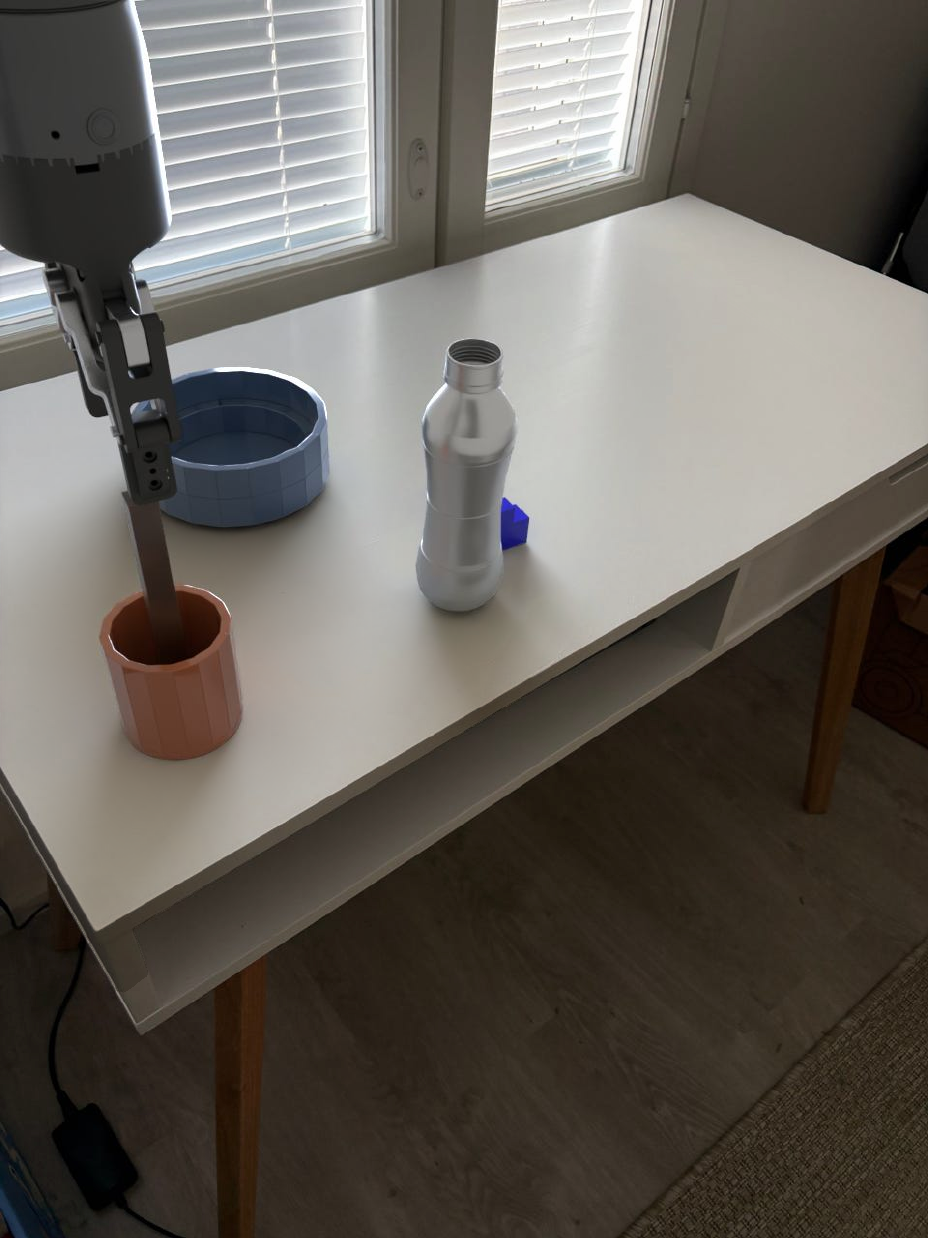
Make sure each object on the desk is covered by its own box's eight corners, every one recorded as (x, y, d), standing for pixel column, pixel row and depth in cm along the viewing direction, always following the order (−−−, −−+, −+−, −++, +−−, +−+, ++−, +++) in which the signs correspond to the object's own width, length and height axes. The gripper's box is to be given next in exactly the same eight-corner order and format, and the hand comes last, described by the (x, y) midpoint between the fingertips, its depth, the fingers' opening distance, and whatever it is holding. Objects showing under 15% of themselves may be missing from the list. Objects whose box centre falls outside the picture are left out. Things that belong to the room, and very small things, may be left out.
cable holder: (526, 542, 81) (531, 502, 79) (489, 554, 80) (493, 514, 77) (474, 489, 86) (477, 450, 83) (439, 500, 85) (441, 460, 82)
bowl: (174, 553, 78) (163, 489, 74) (121, 450, 87) (109, 388, 83) (357, 503, 84) (356, 442, 80) (289, 412, 93) (285, 353, 89)
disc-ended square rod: (158, 743, 63) (108, 530, 52) (139, 696, 66) (87, 484, 55) (226, 720, 65) (192, 508, 54) (204, 675, 68) (168, 465, 56)
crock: (141, 776, 62) (118, 688, 57) (110, 694, 67) (86, 605, 62) (259, 735, 65) (248, 647, 60) (221, 659, 70) (207, 571, 64)
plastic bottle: (400, 607, 75) (404, 363, 61) (436, 555, 79) (448, 318, 66) (480, 633, 73) (503, 389, 60) (513, 578, 78) (541, 340, 64)
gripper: (-64, 76, 44) (26, 401, 55) (-3, 192, 35) (90, 552, 46) (110, 61, 47) (163, 374, 58) (206, 166, 38) (247, 511, 49)
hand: (130, 452), depth 52 cm, fingers open, 8 cm apart
